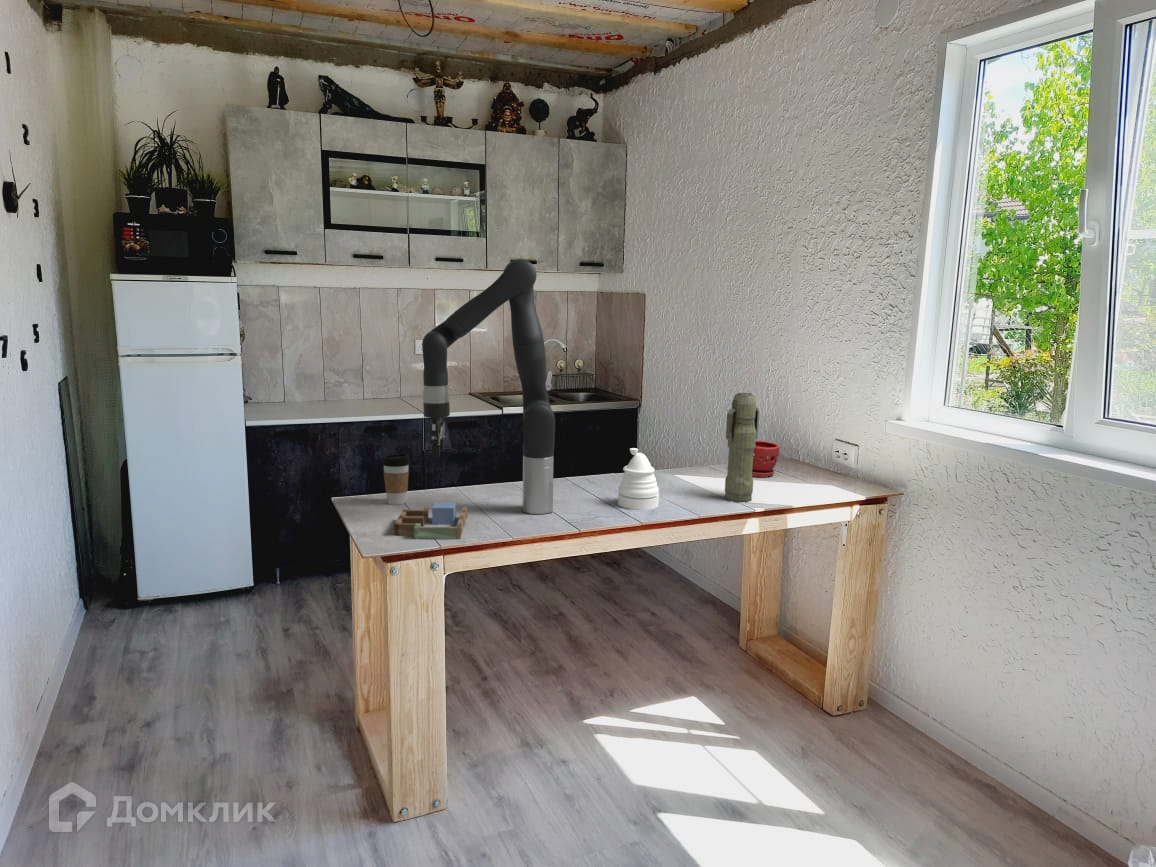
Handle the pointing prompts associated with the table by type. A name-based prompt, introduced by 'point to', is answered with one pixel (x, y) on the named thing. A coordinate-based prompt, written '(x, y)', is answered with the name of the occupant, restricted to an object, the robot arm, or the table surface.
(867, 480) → the table surface
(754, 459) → the plant pot
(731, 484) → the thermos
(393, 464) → the coffee cup
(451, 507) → the block
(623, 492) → the honey pot
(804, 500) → the table surface
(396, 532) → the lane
